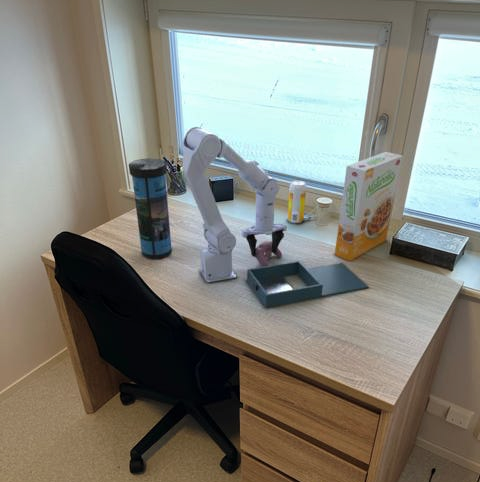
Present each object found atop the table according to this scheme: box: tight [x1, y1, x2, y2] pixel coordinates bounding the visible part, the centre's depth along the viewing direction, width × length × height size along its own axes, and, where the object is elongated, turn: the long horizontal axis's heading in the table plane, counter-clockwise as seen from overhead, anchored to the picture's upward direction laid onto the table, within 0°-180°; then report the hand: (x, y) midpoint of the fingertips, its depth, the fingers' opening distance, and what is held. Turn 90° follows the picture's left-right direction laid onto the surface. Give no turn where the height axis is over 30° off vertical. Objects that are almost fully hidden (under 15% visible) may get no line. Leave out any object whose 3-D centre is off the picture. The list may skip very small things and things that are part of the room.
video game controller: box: [254, 240, 283, 267], centre depth 151 cm, size 10×5×7 cm, turn 144°
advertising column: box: [128, 158, 173, 260], centre depth 148 cm, size 11×11×30 cm
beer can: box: [287, 180, 307, 224], centre depth 175 cm, size 6×6×15 cm
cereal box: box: [334, 151, 404, 262], centre depth 153 cm, size 22×6×30 cm, turn 135°
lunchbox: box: [246, 260, 369, 309], centre depth 139 cm, size 34×15×4 cm, turn 110°
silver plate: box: [258, 276, 293, 294], centre depth 137 cm, size 9×12×1 cm
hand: (263, 253), depth 150 cm, fingers closed on video game controller, 6 cm apart
